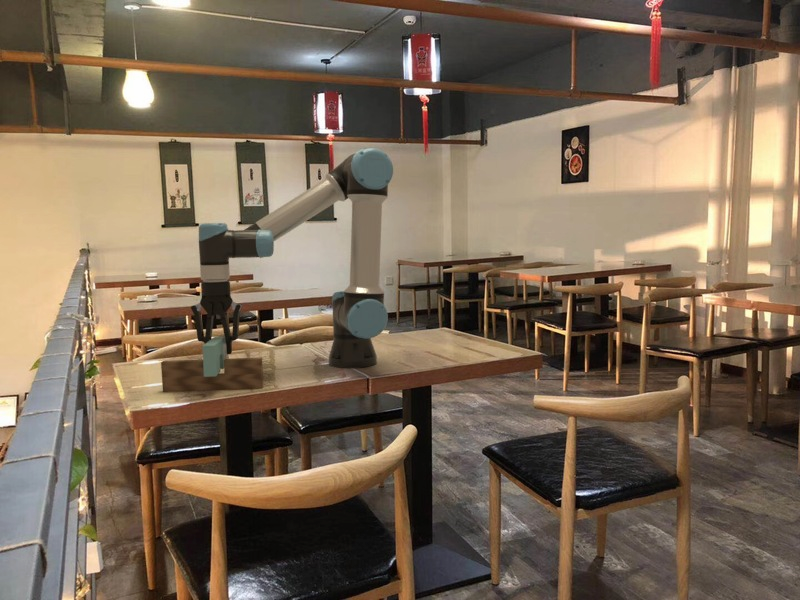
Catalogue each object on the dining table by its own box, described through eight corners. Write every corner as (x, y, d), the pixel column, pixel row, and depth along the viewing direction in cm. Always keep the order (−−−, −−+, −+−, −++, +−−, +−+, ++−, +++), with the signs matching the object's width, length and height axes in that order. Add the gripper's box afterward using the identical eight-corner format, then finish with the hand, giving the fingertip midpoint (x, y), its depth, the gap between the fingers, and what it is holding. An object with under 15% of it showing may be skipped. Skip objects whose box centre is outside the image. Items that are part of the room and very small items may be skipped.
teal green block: (227, 364, 173) (225, 336, 172) (215, 376, 159) (214, 345, 158) (216, 365, 172) (214, 336, 172) (203, 376, 158) (202, 345, 158)
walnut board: (263, 386, 168) (262, 357, 167) (262, 388, 166) (261, 358, 165) (165, 390, 166) (163, 360, 165) (162, 392, 164) (160, 362, 163)
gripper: (248, 279, 172) (251, 362, 174) (188, 280, 171) (193, 364, 173) (243, 281, 164) (247, 368, 167) (181, 282, 163) (185, 370, 166)
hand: (219, 366), depth 170 cm, fingers closed on teal green block, 3 cm apart
